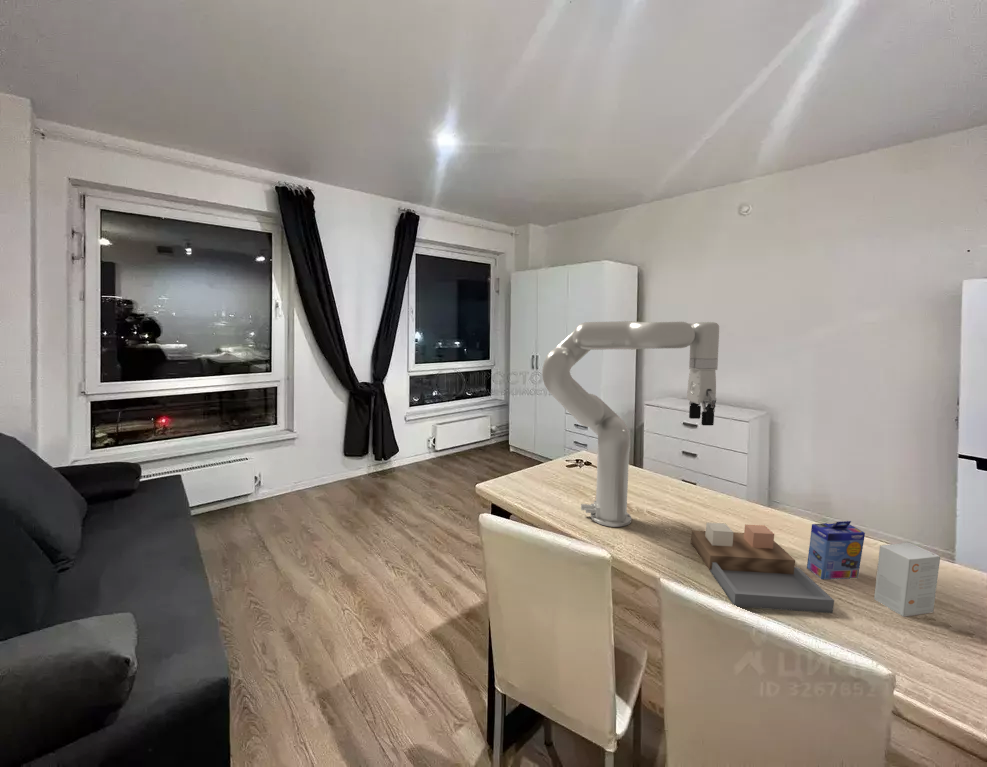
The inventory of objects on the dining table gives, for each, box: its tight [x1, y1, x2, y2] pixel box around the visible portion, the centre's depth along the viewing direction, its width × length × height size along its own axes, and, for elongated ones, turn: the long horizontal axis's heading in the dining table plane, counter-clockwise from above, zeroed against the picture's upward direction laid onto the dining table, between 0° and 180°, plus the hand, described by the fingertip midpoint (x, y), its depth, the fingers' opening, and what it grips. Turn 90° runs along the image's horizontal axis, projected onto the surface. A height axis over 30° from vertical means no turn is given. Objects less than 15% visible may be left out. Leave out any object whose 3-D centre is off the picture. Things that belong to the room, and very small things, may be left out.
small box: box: [873, 542, 941, 618], centre depth 95 cm, size 8×6×13 cm
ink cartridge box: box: [806, 520, 866, 581], centre depth 108 cm, size 10×6×14 cm, turn 95°
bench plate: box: [690, 529, 797, 574], centre depth 115 cm, size 20×14×4 cm
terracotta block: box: [743, 524, 775, 549], centre depth 115 cm, size 5×5×4 cm
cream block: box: [705, 522, 734, 546], centre depth 117 cm, size 5×5×4 cm
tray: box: [709, 562, 835, 614], centre depth 101 cm, size 20×14×3 cm
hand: (700, 421), depth 130 cm, fingers open, 9 cm apart
